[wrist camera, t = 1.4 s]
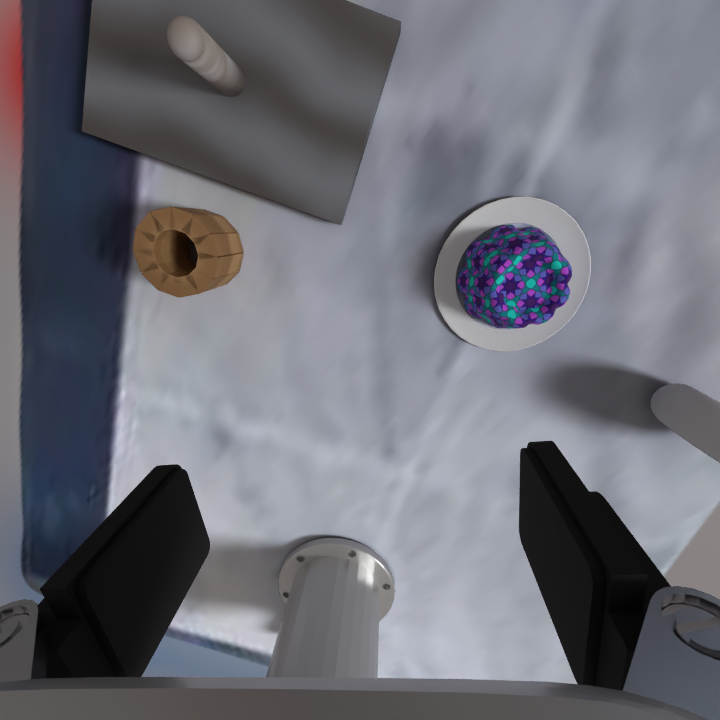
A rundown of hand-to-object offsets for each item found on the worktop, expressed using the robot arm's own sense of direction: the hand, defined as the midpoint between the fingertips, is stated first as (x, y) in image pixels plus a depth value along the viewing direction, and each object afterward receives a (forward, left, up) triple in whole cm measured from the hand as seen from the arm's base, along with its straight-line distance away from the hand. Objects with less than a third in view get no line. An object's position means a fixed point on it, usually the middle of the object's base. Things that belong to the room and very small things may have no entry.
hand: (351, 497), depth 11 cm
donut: (+1, -27, -24) cm, 36 cm away
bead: (0, +15, -23) cm, 28 cm away
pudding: (+6, -9, -24) cm, 26 cm away
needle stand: (+12, +15, -23) cm, 31 cm away
